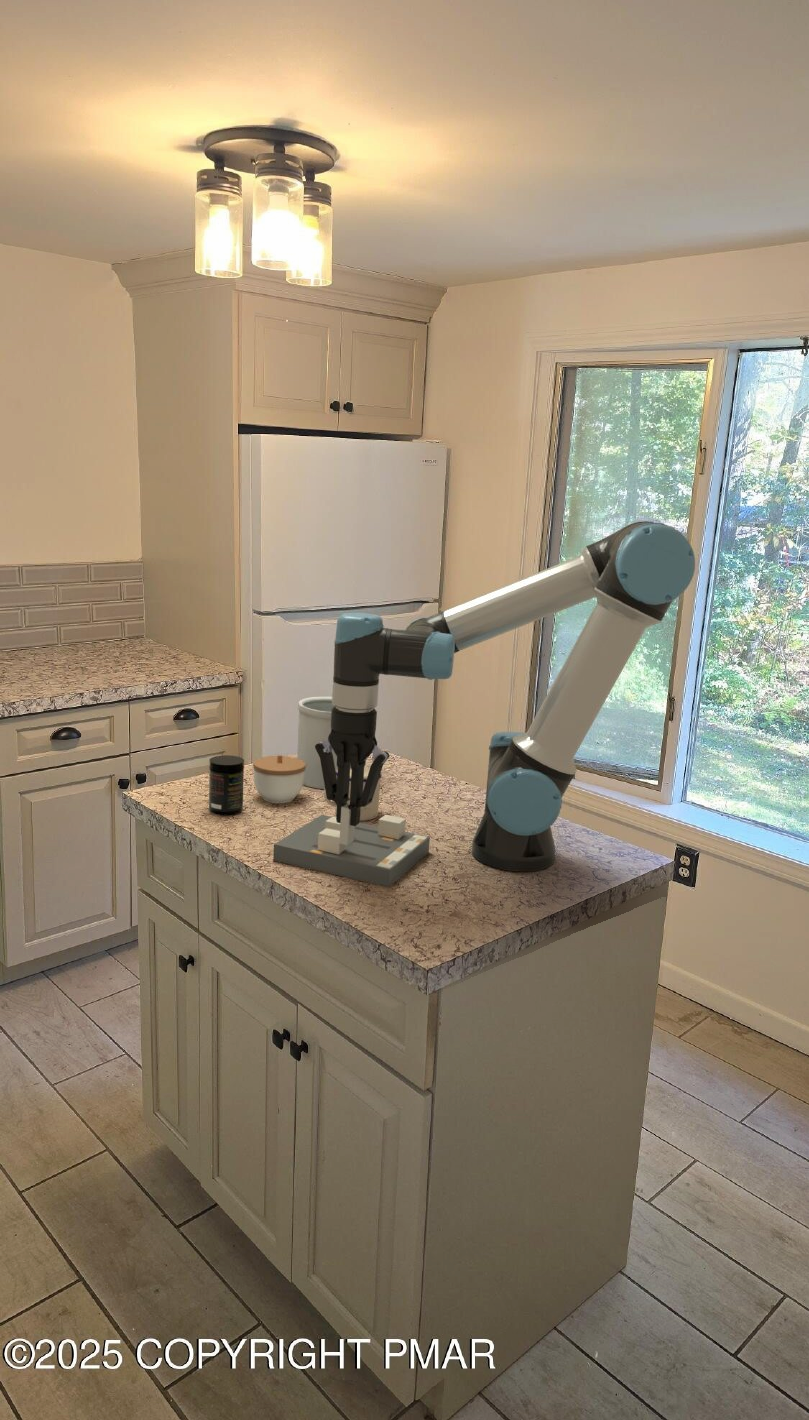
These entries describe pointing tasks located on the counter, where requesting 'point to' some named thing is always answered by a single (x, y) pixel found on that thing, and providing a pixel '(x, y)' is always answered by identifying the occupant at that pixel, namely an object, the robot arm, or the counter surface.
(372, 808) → the teacup with lid
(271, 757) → the lidded jar
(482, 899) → the counter surface
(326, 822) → the middle switch
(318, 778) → the utensil holder
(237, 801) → the supplement container
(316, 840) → the switch panel
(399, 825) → the back switch
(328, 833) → the front switch
